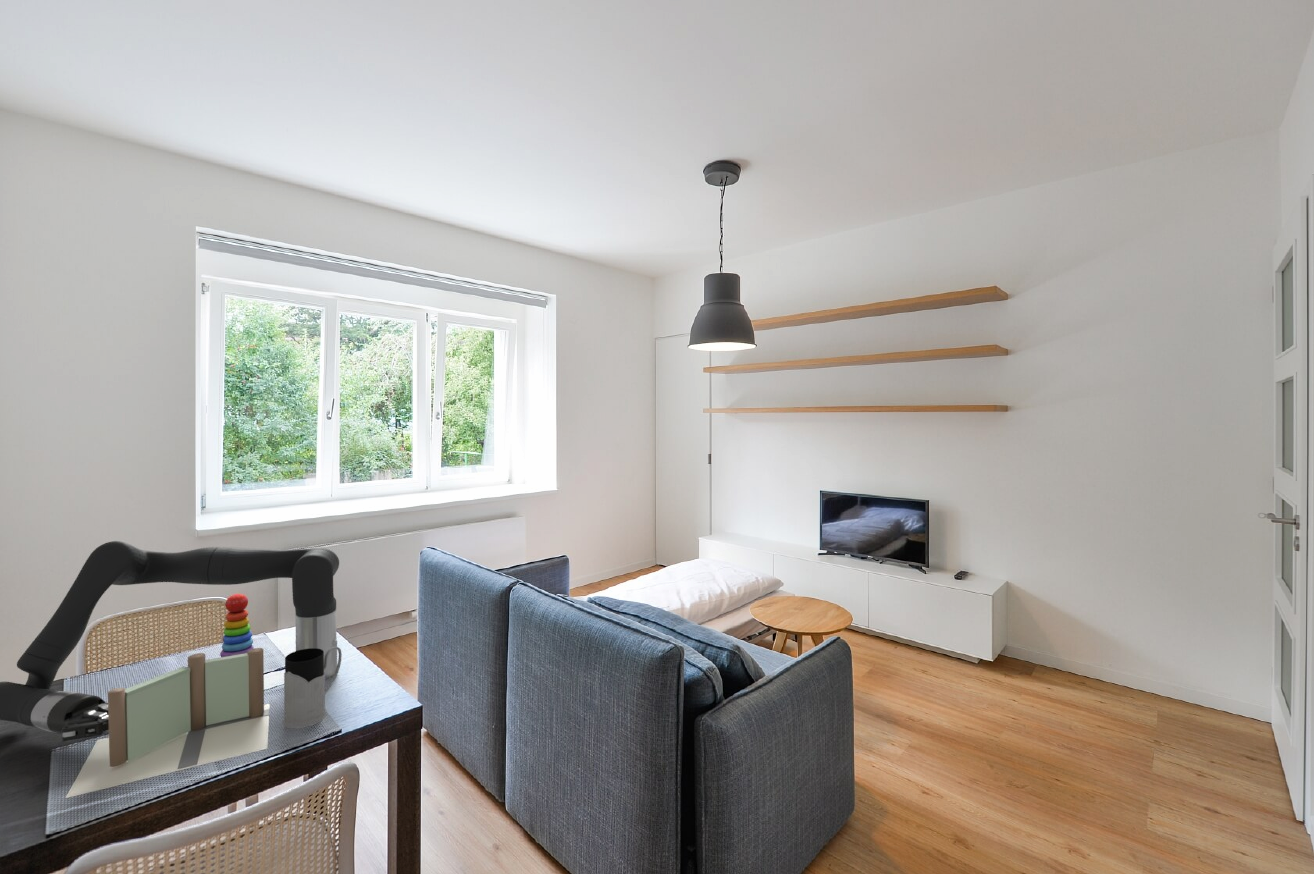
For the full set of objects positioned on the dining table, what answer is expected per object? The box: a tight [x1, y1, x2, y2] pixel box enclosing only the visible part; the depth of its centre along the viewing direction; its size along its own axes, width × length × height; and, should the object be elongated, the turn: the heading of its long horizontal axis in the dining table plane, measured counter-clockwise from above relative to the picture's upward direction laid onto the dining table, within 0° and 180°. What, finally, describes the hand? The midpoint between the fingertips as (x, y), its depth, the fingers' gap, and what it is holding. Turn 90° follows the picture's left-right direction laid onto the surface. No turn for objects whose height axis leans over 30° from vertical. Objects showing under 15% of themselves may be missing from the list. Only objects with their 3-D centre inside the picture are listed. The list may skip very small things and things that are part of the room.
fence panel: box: [107, 666, 191, 767], centre depth 118 cm, size 14×2×15 cm, turn 163°
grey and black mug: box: [282, 646, 343, 729], centre depth 134 cm, size 9×14×15 cm, turn 162°
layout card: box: [65, 703, 271, 799], centre depth 121 cm, size 30×21×1 cm
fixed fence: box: [187, 647, 265, 731], centre depth 129 cm, size 14×3×16 cm, turn 123°
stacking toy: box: [219, 593, 255, 658], centre depth 160 cm, size 8×8×19 cm
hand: (133, 724), depth 116 cm, fingers closed
